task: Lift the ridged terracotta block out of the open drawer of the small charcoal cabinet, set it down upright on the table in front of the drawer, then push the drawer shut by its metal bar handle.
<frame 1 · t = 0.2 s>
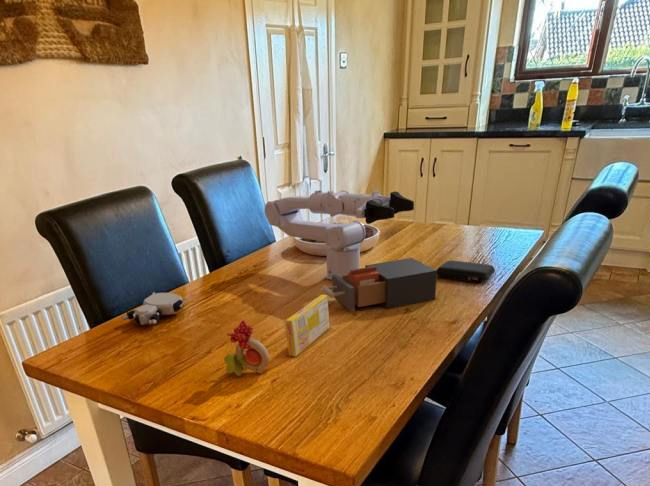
hand: (403, 209, 127), 21 cm above the table, tool horizontal, fingers open, 7 cm apart
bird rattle: (250, 372, 105), on the table
candy box: (309, 342, 115), on the table
ridged terracotta block: (363, 295, 133), point 2 cm above the table
carrying case: (463, 277, 145), on the table
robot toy: (157, 318, 135), on the table
cabinet: (399, 296, 136), on the table
drawer: (356, 289, 131), point 4 cm above the table, slide at 8.5 cm
bowl: (336, 247, 182), on the table
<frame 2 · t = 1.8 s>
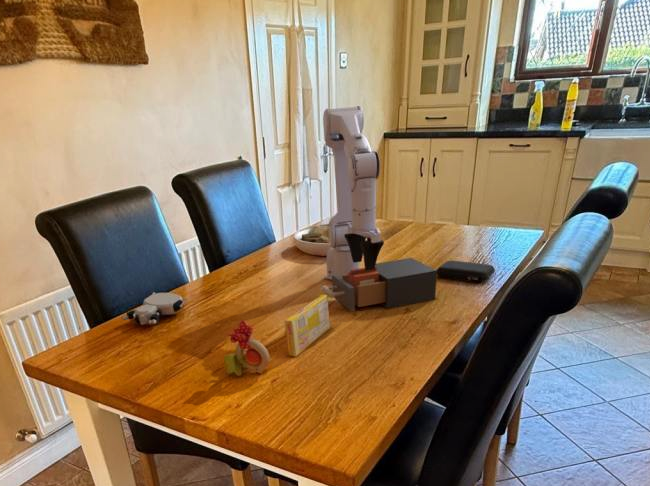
hand: (363, 265, 129), 10 cm above the table, tool pointing down, fingers open, 7 cm apart
ridged terracotta block: (363, 295, 133), point 2 cm above the table, touching drawer
drawer: (356, 289, 131), point 4 cm above the table, slide at 8.5 cm, touching ridged terracotta block
everything else where it was.
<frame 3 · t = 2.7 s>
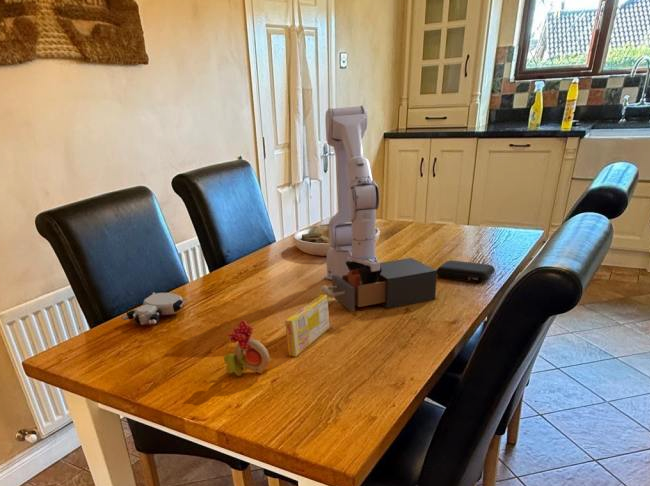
hand: (363, 291, 132), 3 cm above the table, tool pointing down, fingers closed on drawer, 6 cm apart
drawer: (356, 289, 131), point 4 cm above the table, slide at 8.5 cm, touching gripper, ridged terracotta block
everything else where it was.
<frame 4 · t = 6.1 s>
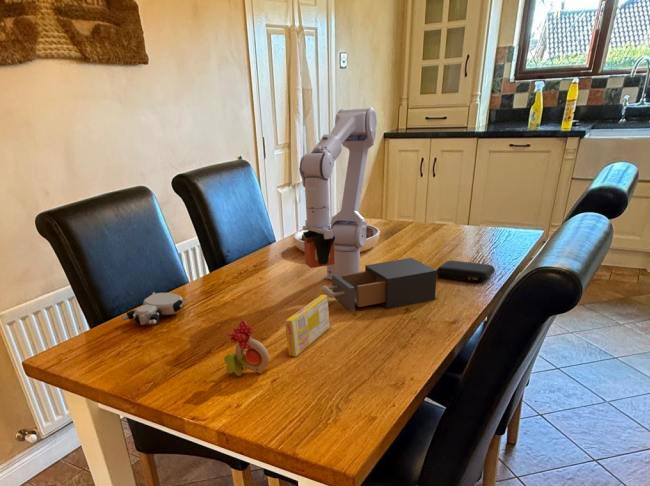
hand: (319, 261, 133), 10 cm above the table, tool pointing down, fingers closed on ridged terracotta block, 4 cm apart
ridged terracotta block: (319, 264, 134), point 9 cm above the table, touching gripper
drawer: (356, 289, 131), point 4 cm above the table, slide at 8.5 cm
everything else where it was.
when the fingers open (1 cm above the table, at t = 8.9 s): ridged terracotta block stays where it is, on the table.
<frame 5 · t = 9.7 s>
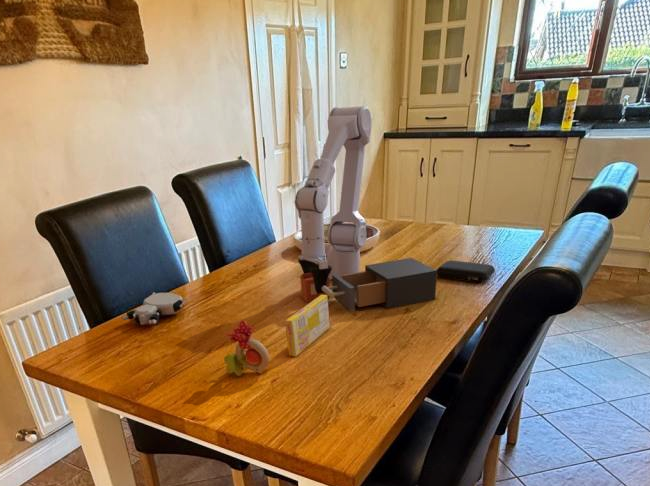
hand: (315, 288, 138), 3 cm above the table, tool pointing down, fingers open, 7 cm apart
ridged terracotta block: (315, 297, 139), on the table
everything else where it was.
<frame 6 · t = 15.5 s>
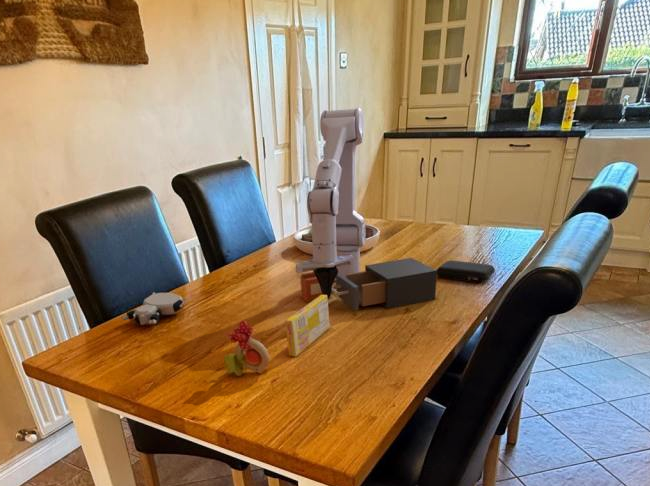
hand: (326, 296, 130), 3 cm above the table, tool pointing down, fingers closed
drawer: (360, 289, 131), point 4 cm above the table, slide at 7.4 cm, touching gripper
everything else where it was.
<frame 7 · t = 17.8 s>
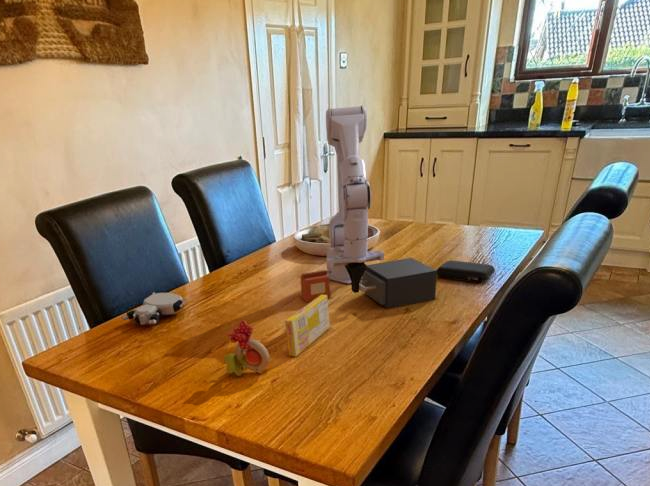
hand: (355, 291, 131), 3 cm above the table, tool pointing down, fingers closed, pressing on drawer
drawer: (386, 284, 133), point 4 cm above the table, slide at 0.0 cm, touching cabinet, gripper
everything else where it was.
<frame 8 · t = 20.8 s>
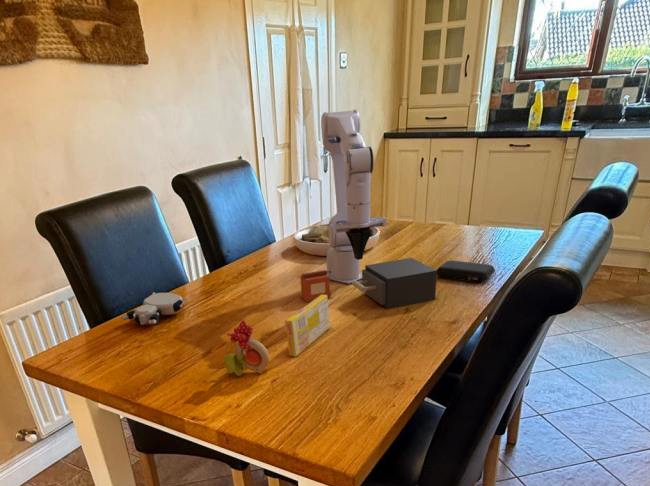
hand: (358, 258, 132), 10 cm above the table, tool pointing down, fingers closed
drawer: (386, 284, 133), point 4 cm above the table, slide at 0.0 cm, touching cabinet
everything else where it was.
at the end: ridged terracotta block 0.1 cm from the target spot, on the table; ridged terracotta block tilted 0°; drawer slide at 0.0 cm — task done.
